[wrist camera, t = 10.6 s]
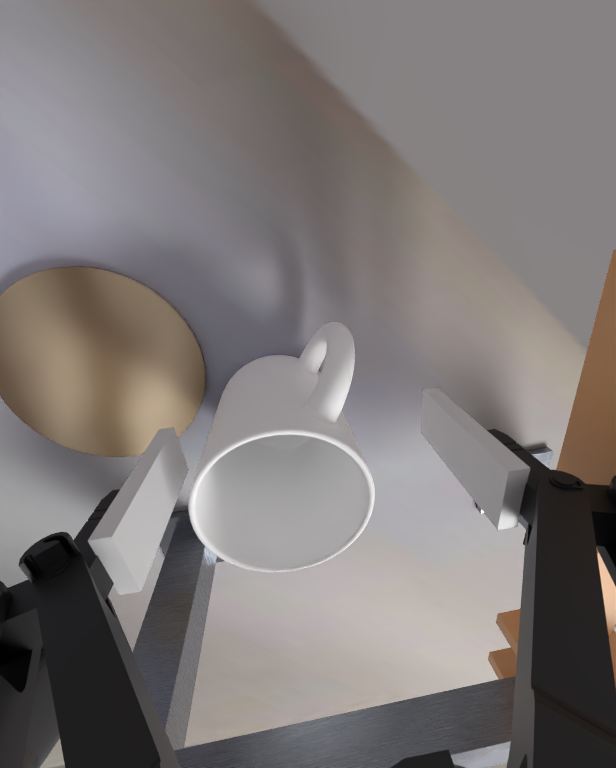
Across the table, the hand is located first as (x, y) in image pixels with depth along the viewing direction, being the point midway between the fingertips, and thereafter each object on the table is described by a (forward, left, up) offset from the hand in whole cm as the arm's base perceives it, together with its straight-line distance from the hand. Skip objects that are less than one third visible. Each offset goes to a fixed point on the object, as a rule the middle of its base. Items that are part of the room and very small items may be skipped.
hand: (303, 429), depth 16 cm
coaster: (-12, +3, -7) cm, 14 cm away
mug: (0, 0, -7) cm, 7 cm away
